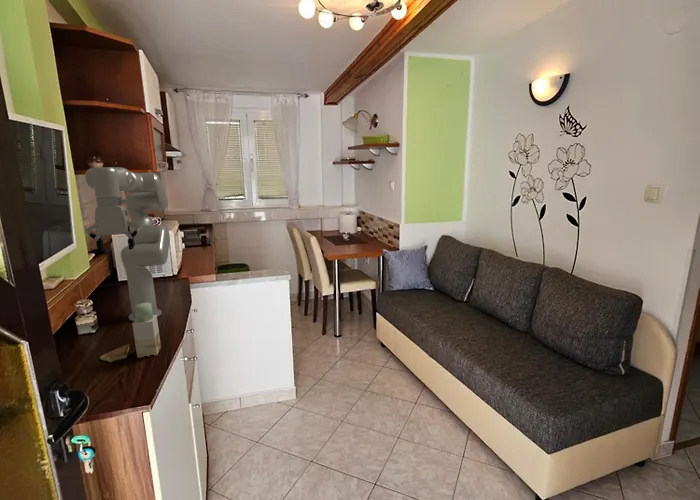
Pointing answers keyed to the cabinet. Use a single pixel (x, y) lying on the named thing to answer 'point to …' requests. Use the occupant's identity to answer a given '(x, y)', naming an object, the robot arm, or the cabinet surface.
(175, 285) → the cabinet surface
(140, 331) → the tower top
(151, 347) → the tower base
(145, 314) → the green cylinder
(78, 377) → the cabinet surface
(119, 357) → the shard
